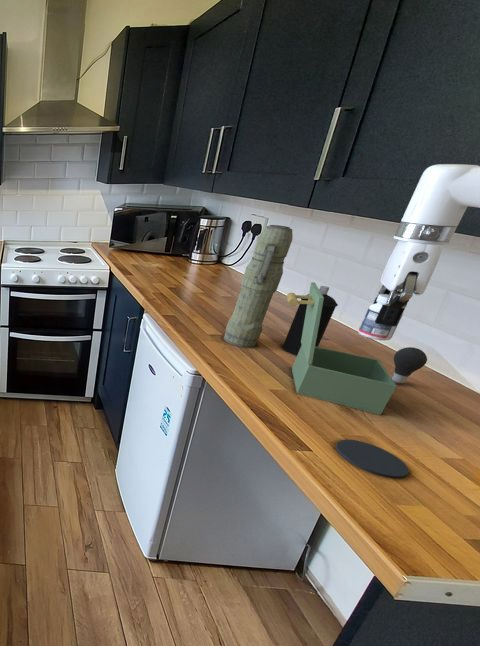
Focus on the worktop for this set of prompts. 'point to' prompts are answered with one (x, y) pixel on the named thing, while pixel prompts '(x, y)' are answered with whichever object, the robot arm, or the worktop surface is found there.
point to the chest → (344, 379)
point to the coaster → (372, 459)
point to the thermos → (258, 286)
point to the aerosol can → (296, 329)
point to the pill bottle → (374, 329)
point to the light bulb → (407, 363)
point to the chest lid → (309, 318)
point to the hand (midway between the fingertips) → (381, 319)
